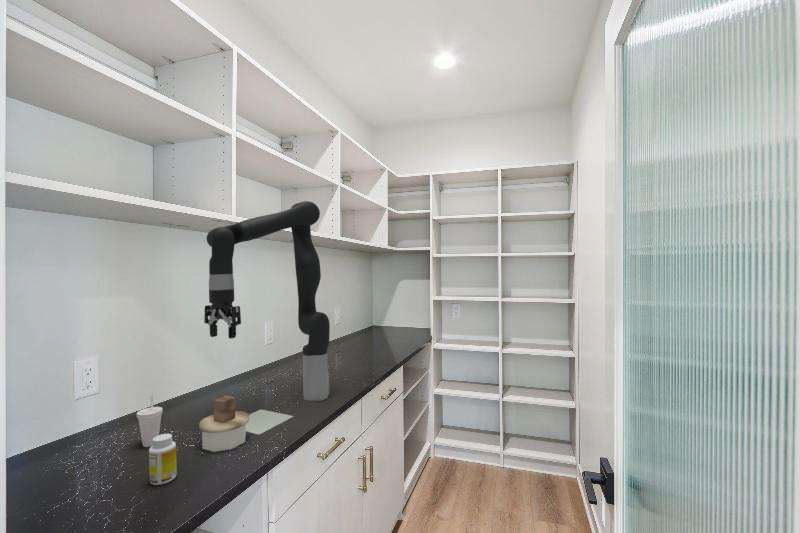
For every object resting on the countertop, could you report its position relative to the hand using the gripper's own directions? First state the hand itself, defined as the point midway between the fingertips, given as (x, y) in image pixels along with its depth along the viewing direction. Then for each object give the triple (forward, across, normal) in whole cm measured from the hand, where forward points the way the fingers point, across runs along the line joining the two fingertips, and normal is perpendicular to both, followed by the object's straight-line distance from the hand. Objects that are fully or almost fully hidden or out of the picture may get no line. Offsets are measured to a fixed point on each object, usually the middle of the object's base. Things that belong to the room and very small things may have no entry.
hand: (222, 337), depth 124 cm
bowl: (+28, -13, +11) cm, 33 cm away
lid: (+22, -13, +11) cm, 28 cm away
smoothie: (+28, +7, +20) cm, 35 cm away
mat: (+28, -12, -4) cm, 30 cm away
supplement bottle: (+28, -15, +30) cm, 44 cm away
